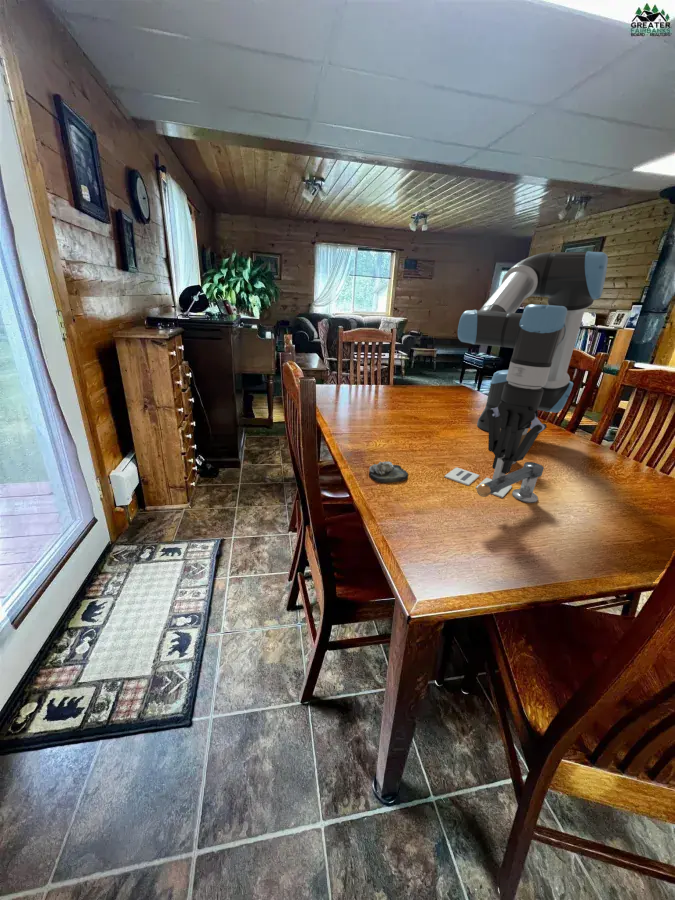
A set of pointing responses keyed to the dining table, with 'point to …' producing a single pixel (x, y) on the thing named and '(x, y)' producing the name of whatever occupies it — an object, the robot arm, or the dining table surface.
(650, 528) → the dining table surface
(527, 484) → the post
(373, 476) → the dark grey lumpy mound
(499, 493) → the label
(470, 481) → the label
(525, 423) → the robot arm
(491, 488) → the swing arm
